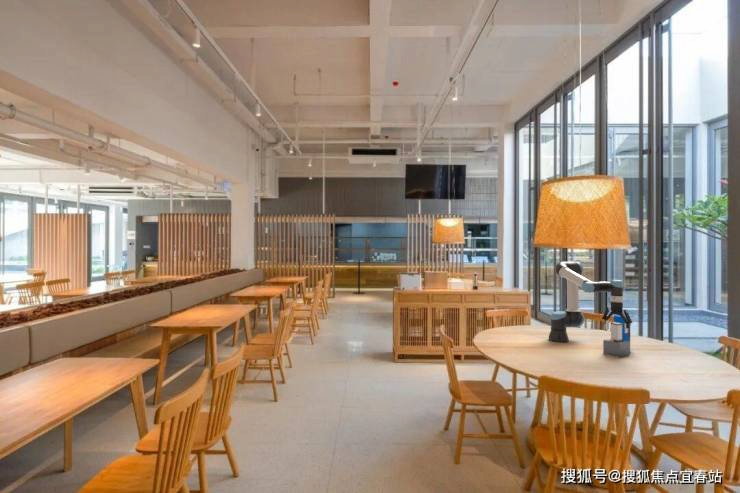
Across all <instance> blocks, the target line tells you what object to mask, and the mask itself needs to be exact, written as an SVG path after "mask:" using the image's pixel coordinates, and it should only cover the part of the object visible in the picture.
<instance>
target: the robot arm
mask: <svg viewBox="0 0 740 493" xmlns="http://www.w3.org/2000/svg"><path fill="white" fill-rule="evenodd" d="M584 270H585V269H584V265H582V263H581V262H580V261H572V260H571V261H560V262H557V263H556V264H555V266H554V272H555V274H556V275H558V276H559V277H560V278H562V279H566V302H567V303H566V304H567V306H566V307H567V308H566V309H565V311H564V310H560V311H559V310H557V311H552V312H551V314H550V332H549V335H548V341H550V340H552V341H551V342H554V341H556V342H555V343H568V342H569V341H570V340H569V339H570V338H569V337H568V333H567V328H579V327H581V326H583V324H584V323H585V315H584V314H583V313H582V311H581V309H580V305H579V304H580V300H579V297H580V296H579V287H580V288H581V290H583V292H584V293H589V294H591V293H610V306H606V308H605V312H604V313H603V314H602V317H601V319H602V320H604V325H605V330H606V331H607V330H610V320H609V319H610V318H611V317H612V316H614V315H620V316H621V317H622V319H623V320H624V321H625V323H626V324H625V333H628V328H629V324H630V325H631V324H633V321H632V319H631V316H630V315H629V311H628V309H623V308H624V303H623V302H624V292H623V291H624V283H623V280H619V279H611V280H610V281H606V280H605V281H603V280H600V281H592V280H590V279H587V278H586V277H585V276H582V275H583V273H584ZM624 315H625V316H626V317H625V316H624ZM626 318H627V319H626Z"/></svg>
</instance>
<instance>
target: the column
mask: <svg viewBox="0 0 740 493" xmlns="http://www.w3.org/2000/svg"><path fill="white" fill-rule="evenodd" d="M622 325H623V323H617V322H614V321H613V322H610V338H611V339H612V340H615V342H622Z"/></svg>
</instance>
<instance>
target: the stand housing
mask: <svg viewBox="0 0 740 493" xmlns="http://www.w3.org/2000/svg"><path fill="white" fill-rule="evenodd" d="M602 343H603V345H602V346H603V347H602V350H603V354H604V355H607V356H612V357H616V358H624V357H627V356H630V355H631V340H630V341H626V340H622V342H615V340H612V339H611V337H610V338H607V339H603V342H602Z"/></svg>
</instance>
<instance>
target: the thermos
mask: <svg viewBox="0 0 740 493" xmlns="http://www.w3.org/2000/svg"><path fill="white" fill-rule="evenodd" d="M624 316H625V314H624ZM625 317H626V316H625ZM626 319H627V318H626ZM613 322H617V323H623V325H622V340H626V341H630V342H631V323H630V324H629V328H628V333H625V324H626V323H625V321H624V320H623V319H622V317H621V316H620V315H616V314H613Z"/></svg>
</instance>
